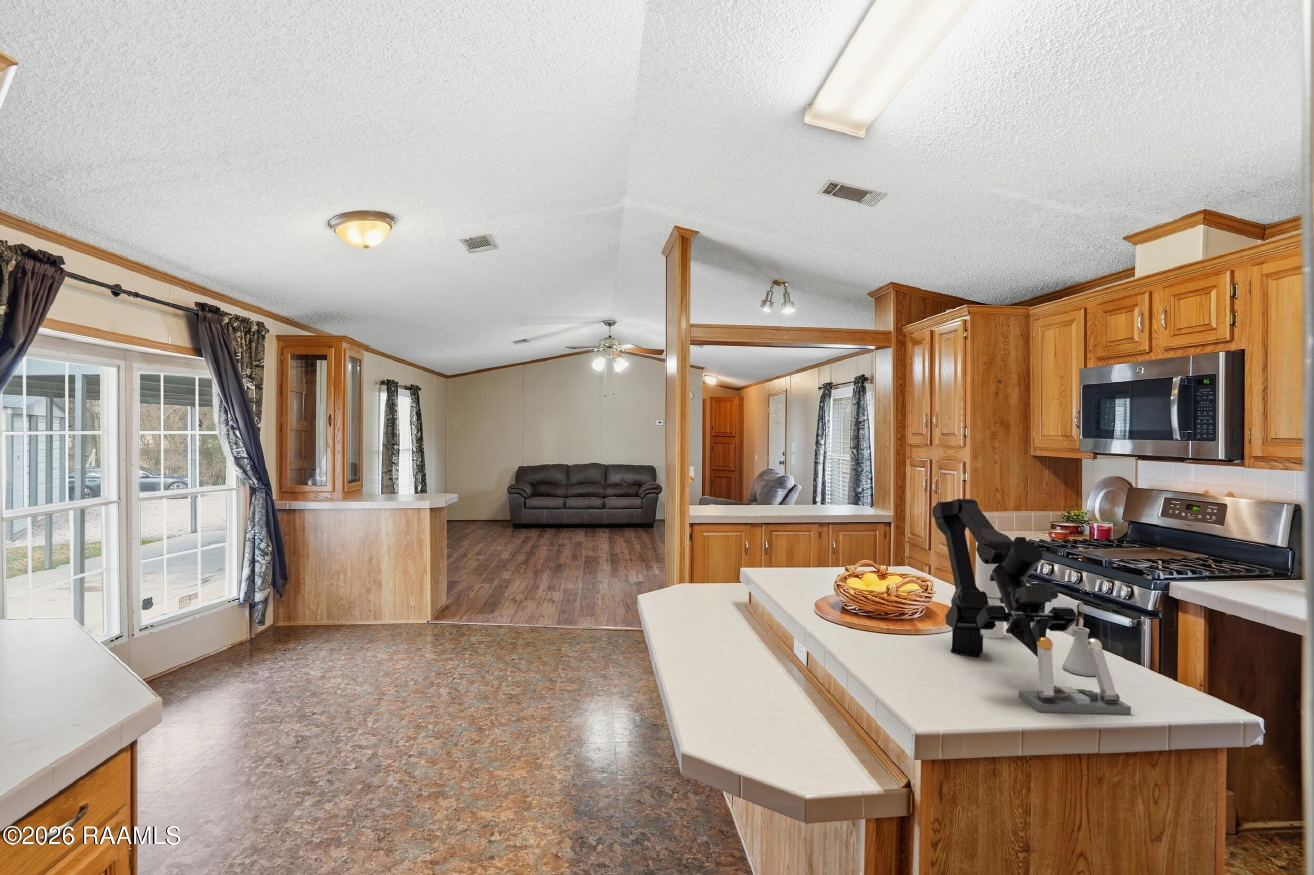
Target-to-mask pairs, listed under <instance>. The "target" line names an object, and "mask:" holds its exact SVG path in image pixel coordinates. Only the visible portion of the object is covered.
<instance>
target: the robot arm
mask: <svg viewBox="0 0 1314 875" xmlns="http://www.w3.org/2000/svg"><path fill="white" fill-rule="evenodd" d="M931 513H932V517H933V519H934V521H935V525H936V528H938V530H939V531H940V532H941V533H942V534H943V535H944V538H945V542H946V548H947V552H948V557H949V563H950V567H951V573H952V577H953V582H954V583H953V584H954V588H955V590H954V593H953V595H952V598H950V599H951V600H950V603H951V606H950V608H949V609H948V611H947V612H946V613H945V615H944V616H945V624H946V625H947V626H948V627H951V628H952V632H951V633H952V637H951V638H952V640H951V648H950V653H953V654H960V655H965V656H971V657H977V658H979V657H981V654H983V652H984V637H983V634H981V629H983V630H993V628H994V627H995V626H996V624H995V622H1004V623H1006V626H1007V628H1006V629H1005V630H1004V631H1005V633H1006V634H1010V635H1012V636H1013V637H1014V638H1016V639H1017V640H1018V641H1019V642H1020V643H1022V644H1023V645H1024V647H1026V648H1027V649H1028V650H1029V651H1030V652H1031V653H1032V654H1033V655H1034V656H1036V658H1038V648H1037V644H1036V642H1037V639H1038V638H1039V637H1042V636H1044V637H1047V630H1049V631H1050V632H1066V631H1068V630H1069V629H1070V628H1071V627H1072V626H1073V625H1074V624H1075V623H1076V622H1077V620H1078V619H1079V617H1078V614H1077V612H1076V610H1075V609H1074V608H1071V607H1068V606H1052V608H1051V609H1050V610H1049V611H1048V612H1043V613H1042V612H1040V610H1043V609H1044V608H1045V604H1046V603H1052V602H1053V601H1054V600H1056V599H1058V597H1059V593H1058V589H1057V588H1056V585H1055V584H1054V582H1044V583H1042V584H1041V585H1031V584H1029V585H1028V583H1027V581H1026V579H1025V578H1026V577H1028V576H1030V574H1032V572H1033V571H1034V570H1035V568H1036V567H1037V566H1038V565H1039V563H1040V562H1041V561H1042V560H1043V556H1044V555H1043V554H1044V553H1043V551H1042V549H1041V548H1039V547H1038V546H1037V545H1036V544H1035V543H1033V542H1031V541H1028V540H1027V538H1026V537H1025V536H1016V537H1014V539H1011V538H1010V536H1008V535H1006V534H1005V533H1003V532H1000V531H998V530H997V529H995V527H994V526H993V525H992V523H991V522H990V521H989V519H988V518H987V517H986V515H985V514H984V513H983V511H982V510H981V509H980V507H979V505H978V502H977V500H976V499H973V498H956V499H953V500H949V501H938V502H936V504H935V505H933V506H932V512H931ZM966 529H968V531H969V532H970V534H971V535H972V536H973V538H974V539H975V541H976V542H977V543H978V545H977V548H976V547H975V552H976V551H977V553H978V555H979V557H980V559H981V560H982V562H983V563H984V564H998V565H997V566H996V567H995V568H994V569H993V570H992V574H991V575H990V581H995V582H996V584H997V587H998V589H999V592H1000V594H1001V597H1000V599H999V601H1000V603H1004V607H1003V606H998V605H989V603H988V599H987V594H986V593H985V592H984V591H980V590H979V589H978V588H977V586H976V582H975V574H974V570H973V565H972V560H971V555H970V550H969V546H968V545H969V544H968V541H967V536H966ZM1052 600H1053V601H1052Z"/></svg>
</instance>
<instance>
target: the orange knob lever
mask: <svg viewBox="0 0 1314 875" xmlns="http://www.w3.org/2000/svg"><path fill="white" fill-rule="evenodd" d="M1036 644H1037V648H1038V657H1037V668H1038V669H1037V670H1038V690H1037V691H1038V692H1037V696H1038V698H1039V699H1040V700H1055V699H1056V694H1055V692H1054V687H1053V686H1054V672H1053V671H1054V669H1053V666H1054V665H1053V663H1054V662H1053V646H1054V644H1053V642H1052V640H1051V639H1050V638H1049V637H1047V636H1046V637H1044V636H1042V637H1039V638H1038V639H1037V642H1036Z"/></svg>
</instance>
